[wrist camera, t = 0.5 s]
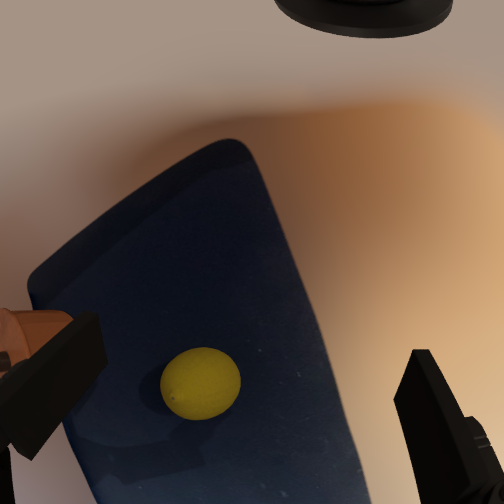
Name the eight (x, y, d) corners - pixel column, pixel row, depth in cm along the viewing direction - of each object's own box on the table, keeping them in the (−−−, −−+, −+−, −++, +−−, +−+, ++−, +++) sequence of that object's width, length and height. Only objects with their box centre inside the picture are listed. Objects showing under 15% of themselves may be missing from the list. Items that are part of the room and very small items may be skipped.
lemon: (201, 398, 27) (148, 428, 19) (193, 341, 27) (135, 356, 20) (257, 401, 25) (215, 439, 17) (251, 339, 26) (203, 359, 18)
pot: (35, 322, 37) (-13, 323, 29) (75, 299, 34) (17, 299, 26) (56, 398, 35) (9, 409, 27) (100, 390, 31) (44, 406, 23)
